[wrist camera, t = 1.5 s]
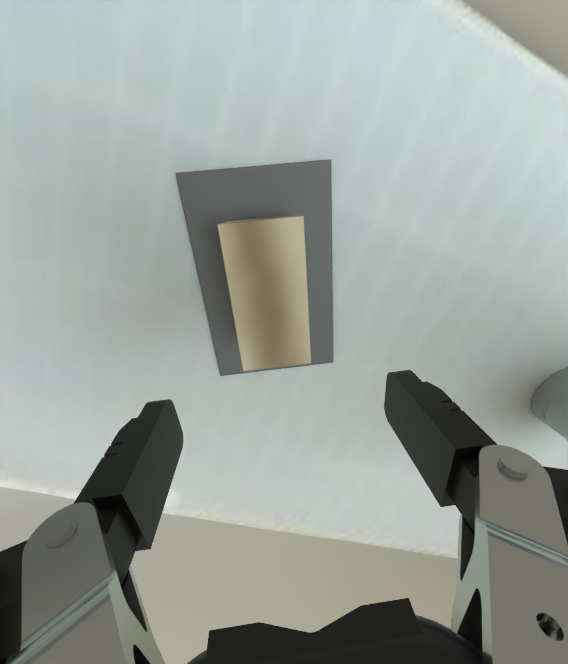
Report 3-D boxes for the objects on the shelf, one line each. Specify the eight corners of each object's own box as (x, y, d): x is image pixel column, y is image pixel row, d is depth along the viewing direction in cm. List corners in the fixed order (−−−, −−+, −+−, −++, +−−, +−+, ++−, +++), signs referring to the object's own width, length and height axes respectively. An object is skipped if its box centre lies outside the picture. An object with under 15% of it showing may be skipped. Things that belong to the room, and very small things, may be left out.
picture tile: (329, 160, 23) (331, 159, 23) (332, 359, 32) (333, 362, 31) (177, 174, 23) (175, 173, 22) (221, 373, 31) (220, 375, 31)
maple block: (293, 214, 24) (303, 216, 19) (301, 334, 29) (311, 363, 24) (226, 221, 24) (217, 224, 19) (246, 341, 29) (243, 371, 24)
